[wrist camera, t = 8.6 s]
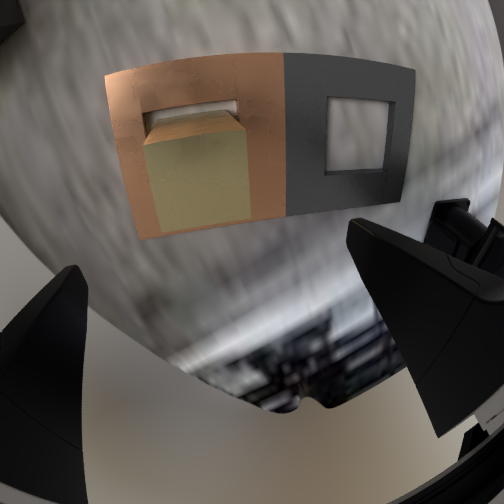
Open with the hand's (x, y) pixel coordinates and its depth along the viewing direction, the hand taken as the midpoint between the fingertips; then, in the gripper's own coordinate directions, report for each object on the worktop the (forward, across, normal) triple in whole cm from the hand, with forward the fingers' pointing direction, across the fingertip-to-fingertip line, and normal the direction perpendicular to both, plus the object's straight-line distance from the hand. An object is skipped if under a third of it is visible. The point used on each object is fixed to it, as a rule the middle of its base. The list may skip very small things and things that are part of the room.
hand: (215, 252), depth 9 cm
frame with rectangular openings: (+12, -6, 0) cm, 13 cm away
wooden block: (+12, 0, 0) cm, 12 cm away
